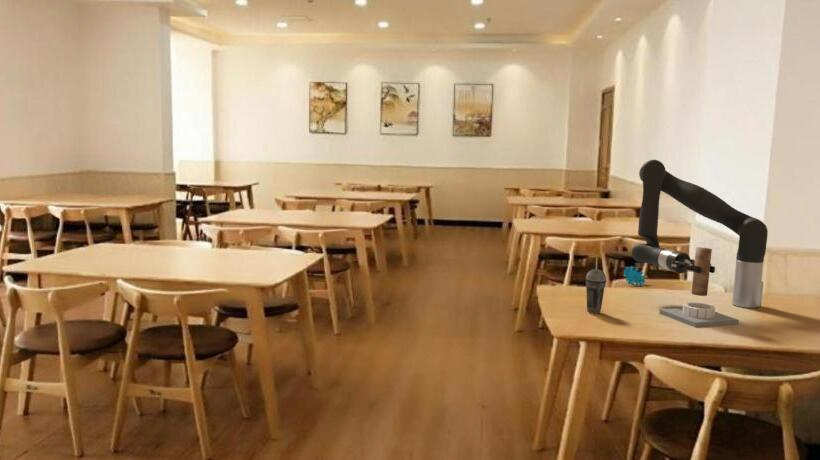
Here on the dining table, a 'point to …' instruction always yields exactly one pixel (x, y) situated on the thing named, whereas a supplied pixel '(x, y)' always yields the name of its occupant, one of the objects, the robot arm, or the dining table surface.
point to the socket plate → (701, 320)
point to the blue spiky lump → (634, 276)
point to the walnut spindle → (701, 278)
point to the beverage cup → (595, 289)
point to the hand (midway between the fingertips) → (707, 270)
